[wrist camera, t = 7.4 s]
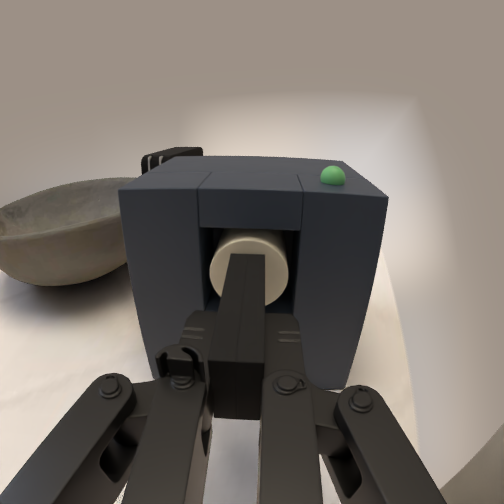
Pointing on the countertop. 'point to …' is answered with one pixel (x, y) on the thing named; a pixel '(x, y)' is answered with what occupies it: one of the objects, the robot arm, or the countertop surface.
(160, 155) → the electronic device
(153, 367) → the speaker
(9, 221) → the bowl
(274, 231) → the power button
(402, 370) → the countertop surface
